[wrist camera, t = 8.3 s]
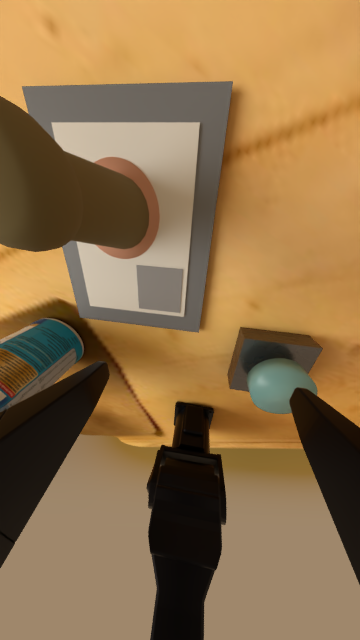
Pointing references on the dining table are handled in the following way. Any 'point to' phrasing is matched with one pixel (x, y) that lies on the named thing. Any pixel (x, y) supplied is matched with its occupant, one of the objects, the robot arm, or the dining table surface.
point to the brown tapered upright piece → (61, 193)
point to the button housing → (268, 352)
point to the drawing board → (145, 191)
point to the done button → (277, 384)
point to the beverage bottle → (36, 359)
